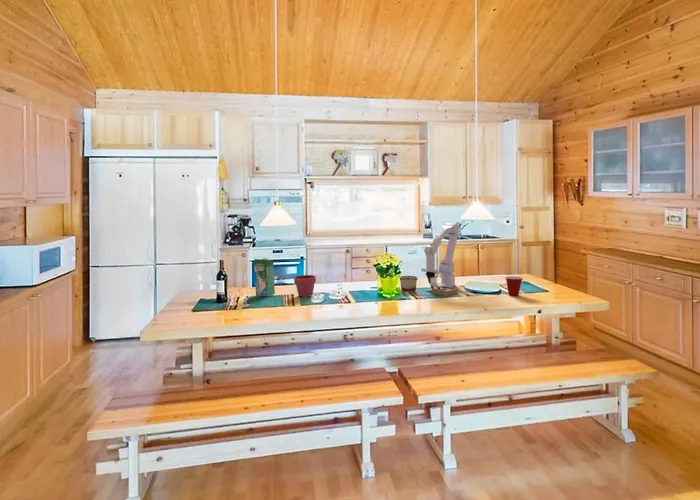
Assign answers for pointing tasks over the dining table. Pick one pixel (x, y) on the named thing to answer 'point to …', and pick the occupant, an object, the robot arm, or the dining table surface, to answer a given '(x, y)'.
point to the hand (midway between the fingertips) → (430, 283)
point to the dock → (444, 291)
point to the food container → (408, 283)
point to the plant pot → (305, 284)
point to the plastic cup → (513, 285)
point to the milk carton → (264, 277)
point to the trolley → (434, 283)
